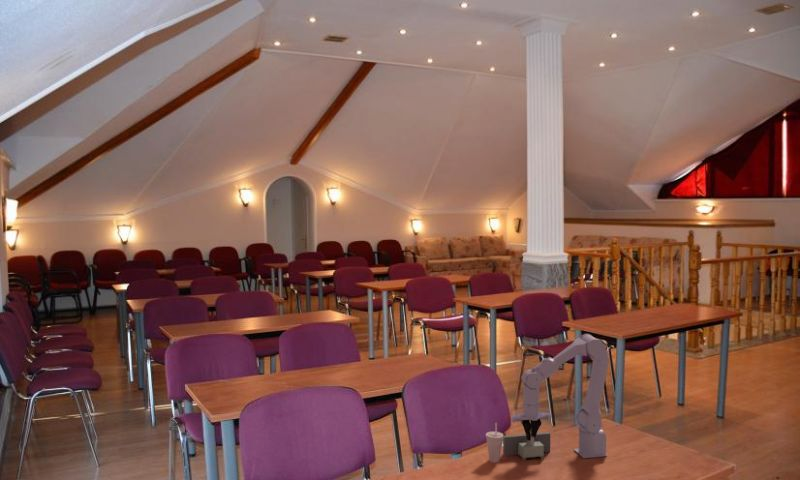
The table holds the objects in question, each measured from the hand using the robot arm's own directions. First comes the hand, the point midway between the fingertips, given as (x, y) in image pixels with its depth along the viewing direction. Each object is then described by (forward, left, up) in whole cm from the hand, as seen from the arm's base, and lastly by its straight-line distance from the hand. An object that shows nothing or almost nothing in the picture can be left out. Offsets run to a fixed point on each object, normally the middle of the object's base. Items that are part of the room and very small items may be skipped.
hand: (530, 439), depth 250 cm
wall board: (0, -2, -7) cm, 7 cm away
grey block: (0, 0, -7) cm, 7 cm away
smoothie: (+14, 0, -7) cm, 16 cm away
